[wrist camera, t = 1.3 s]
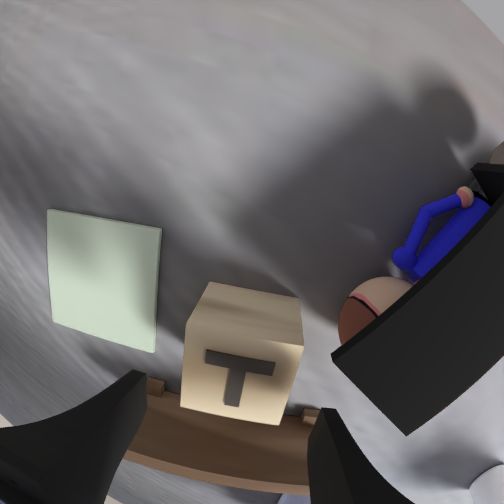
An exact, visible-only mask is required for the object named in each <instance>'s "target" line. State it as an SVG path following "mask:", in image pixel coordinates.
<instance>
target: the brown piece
mask: <svg viewBox="0 0 504 504" xmlns="http://www.w3.org/2000/svg"><path fill="white" fill-rule="evenodd" d="M146 382H147V410H146V412H145V415H144V418H143V420H142V423H141V425H140V427H139V429H138V431H137V433H136V435H135V437H134V438H133V440H132V442H131V444H130V446H129V447H128V449H127V451H126V453H125V455H124V456H123V459H126V460H129V461H132V462H135V463H138V464H141V465H144V466H147V467H150V468H154V469H157V470H160V471H164V472H168V473H171V474H175V475H179V476H183V477H187V478H191V479H195V480H200V481H204V482H209V483H214V484H219V485H224V486H230V487H236V488H242V489H248V490H256V491H263V492H272V493H282V494H293V495H309V496H310V489H309V478H308V466H307V446H308V437H309V435H310V433H311V431H312V428H313V426H314V424H315V422H316V419H317V417H318V415H319V412H320V410H315V409H306V408H304V410H303V413H302V415H301V417H297V416H289V415H282V418H281V421H280V424H279V425H272V424H265V423H259V422H252V421H247V420H241V419H235V418H230V417H225V416H220V415H215V414H211V413H206V412H202V411H197V410H193V409H189V408H185V407H181V406H180V403H181V395H179V394H175V393H171V392H168V391H164V387H165V381H161V380H158V379H154V378H151V377H148V378H147V380H146Z"/></svg>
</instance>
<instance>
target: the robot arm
mask: <svg viewBox="0 0 504 504" xmlns="http://www.w3.org/2000/svg"><path fill="white" fill-rule="evenodd" d="M146 410H147V382H146V373H143V372H139V371H136V370H131V371H130V372H128V373H127V374H126V375H124V376H123V377H122V378H120V379H119V380H117V381H116V382H115V383H113V384H112V385H110V386H109V387H108V388H106V389H105V390H103V391H102V392H100V393H99V394H97V395H95V396H94V397H92V398H90V399H89V400H87V401H85V402H84V403H82V404H80V405H78V406H76V407H74V408H72V409H70V410H68V411H66V412H64V413H61V414H59V415H56V416H53V417H50V418H47V419H44V420H41V421H38V422H34V423H30V424H25V425H20V426H13V427H5V428H0V504H104V501H105V499H106V495H107V493H108V490H109V487H110V485H111V482H112V480H113V477H114V475H115V472H116V470H117V468H118V466H119V464H120V462H121V460H122V458H123V456H124V455H125V453H126V451H127V449H128V447H129V446H130V444H131V442H132V440H133V438H134V437H135V435H136V433H137V431H138V429H139V427H140V425H141V423H142V420H143V418H144V415H145V412H146ZM307 466H308V478H309V489H310V496H309V495H293V494H282V496H281V498H280V500H279V501H278V503H277V504H415V503H413V502H412V501H410V500H409V499H407V498H406V497H405V496H403V495H402V494H401V493H400V492H399V491H397V490H396V489H395V488H394V487H393V486H392V485H391V484H389V483H388V482H387V481H386V480H385V479H384V478H383V477H382V475H381V474H380V473H379V472H378V471H377V470H376V469H375V468H374V467H373V465H372V464H371V463H370V462H369V460H368V459H367V458H366V456H365V455H364V454H363V452H362V451H361V449H360V448H359V446H358V445H357V443H356V442H355V440H354V439H353V437H352V436H351V434H350V432H349V431H348V429H347V427H346V426H345V424H344V422H343V420H342V419H341V417H340V415H339V413H338V412H337V410H336V409H332V408H322V407H321V410H320V412H319V415H318V417H317V419H316V422H315V424H314V426H313V428H312V431H311V433H310V435H309V437H308V446H307Z"/></svg>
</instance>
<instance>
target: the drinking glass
mask: <svg viewBox="0 0 504 504" xmlns="http://www.w3.org/2000/svg"><path fill="white" fill-rule="evenodd" d="M469 492H470V495H471V498H472V500H473V503H474V504H504V465H498V466H495V467H493V468H491V469H489V470H487V471H486V472H484V473H483V474H481V475H480V476H479V477H478V478H477V479H476V480H475V481H474V482H473V483H472V484H471V486H470V489H469Z"/></svg>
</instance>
